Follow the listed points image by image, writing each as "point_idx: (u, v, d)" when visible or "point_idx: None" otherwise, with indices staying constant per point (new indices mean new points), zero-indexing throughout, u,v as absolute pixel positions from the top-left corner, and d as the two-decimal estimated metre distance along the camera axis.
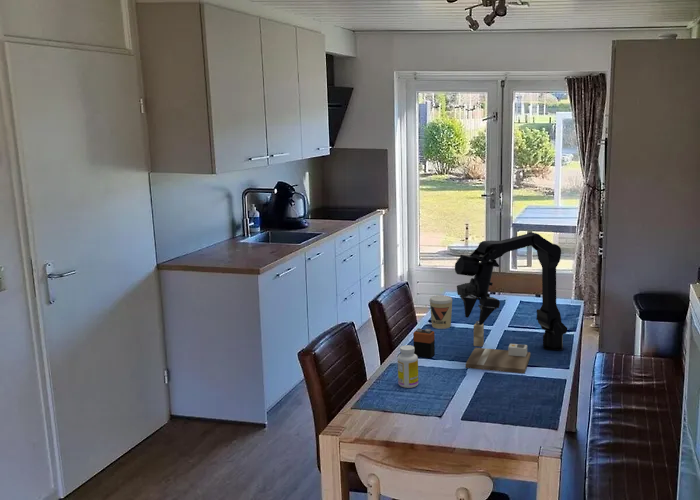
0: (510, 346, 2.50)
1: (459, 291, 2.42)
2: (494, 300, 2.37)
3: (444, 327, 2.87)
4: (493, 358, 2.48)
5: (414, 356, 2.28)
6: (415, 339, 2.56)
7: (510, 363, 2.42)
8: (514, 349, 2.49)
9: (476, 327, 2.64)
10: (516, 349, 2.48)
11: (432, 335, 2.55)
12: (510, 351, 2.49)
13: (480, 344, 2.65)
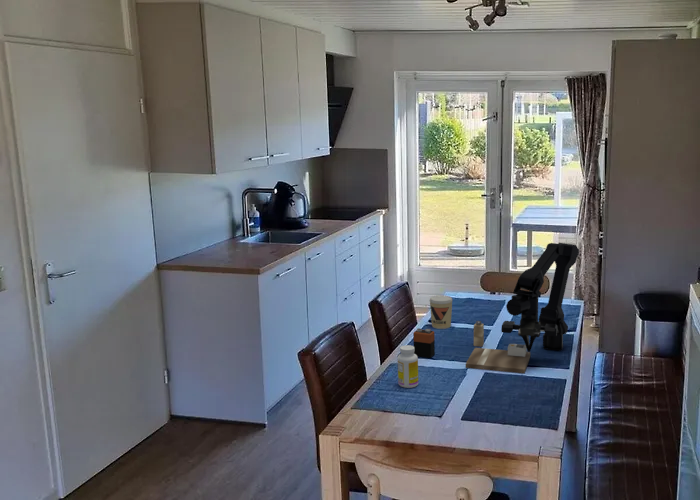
0: (509, 346, 2.50)
1: (526, 332, 2.40)
2: (556, 326, 2.44)
3: (444, 327, 2.87)
4: (493, 358, 2.48)
5: (414, 356, 2.28)
6: (415, 339, 2.56)
7: (510, 363, 2.42)
8: (513, 349, 2.49)
9: (476, 327, 2.64)
10: (515, 349, 2.48)
11: (432, 335, 2.55)
12: (509, 351, 2.49)
13: (480, 344, 2.65)
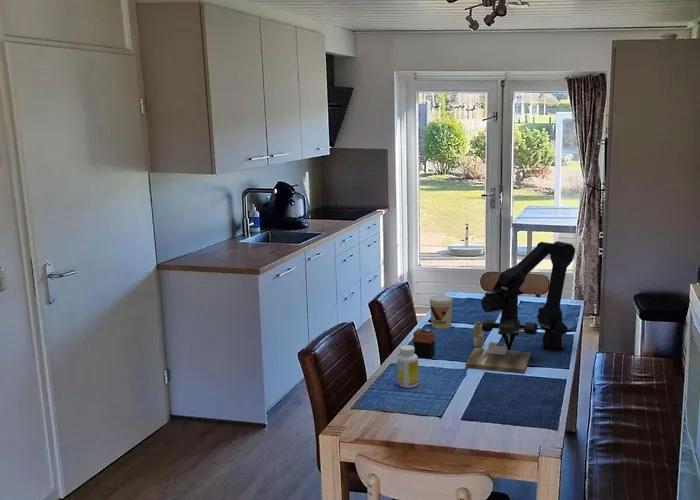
0: (490, 344, 2.52)
1: (506, 330, 2.42)
2: (535, 325, 2.47)
3: (444, 327, 2.87)
4: (493, 358, 2.48)
5: (414, 356, 2.28)
6: (415, 339, 2.56)
7: (510, 363, 2.42)
8: (494, 347, 2.51)
9: (476, 327, 2.64)
10: (496, 347, 2.51)
11: (432, 335, 2.55)
12: (490, 349, 2.52)
13: (480, 344, 2.65)
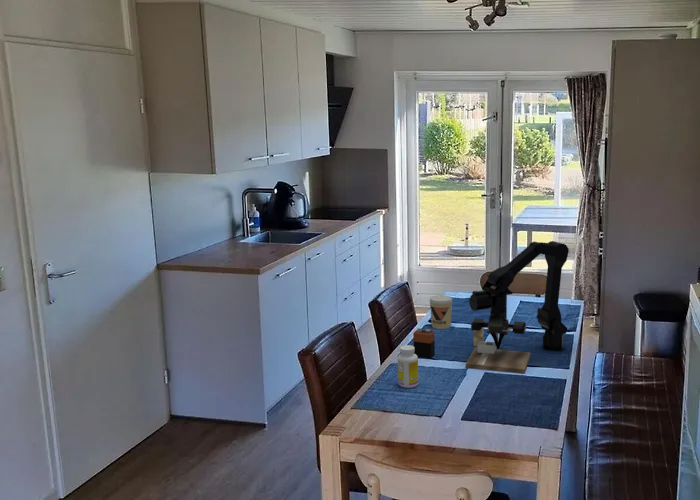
0: (479, 343, 2.54)
1: (494, 329, 2.43)
2: (524, 324, 2.48)
3: (444, 327, 2.87)
4: (493, 358, 2.48)
5: (414, 356, 2.28)
6: (415, 339, 2.56)
7: (510, 363, 2.42)
8: (483, 346, 2.52)
9: None
10: (485, 346, 2.52)
11: (432, 335, 2.55)
12: (479, 348, 2.53)
13: None
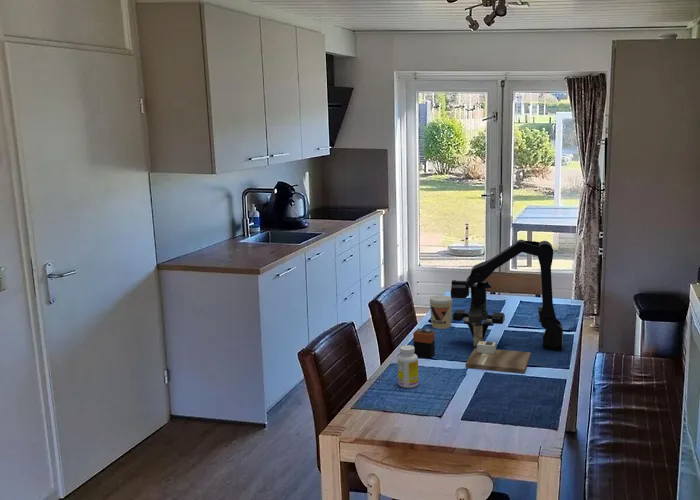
0: (479, 343, 2.54)
1: (474, 319, 2.57)
2: (503, 315, 2.61)
3: (444, 327, 2.87)
4: (493, 358, 2.48)
5: (414, 356, 2.28)
6: (415, 339, 2.56)
7: (510, 363, 2.42)
8: (482, 346, 2.53)
9: (476, 327, 2.64)
10: (484, 346, 2.52)
11: (432, 335, 2.55)
12: (479, 348, 2.53)
13: None
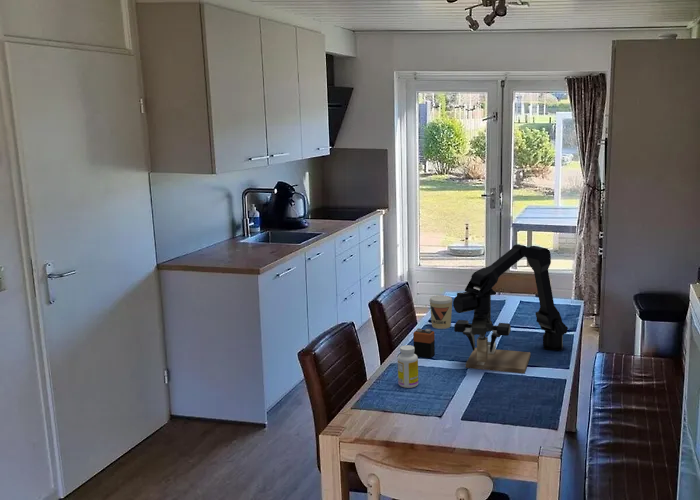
0: None
1: (478, 331, 2.36)
2: (509, 326, 2.41)
3: (444, 327, 2.87)
4: (493, 358, 2.48)
5: (414, 356, 2.28)
6: (415, 339, 2.56)
7: (510, 363, 2.42)
8: None
9: (479, 341, 2.44)
10: None
11: (432, 335, 2.55)
12: None
13: (484, 359, 2.44)
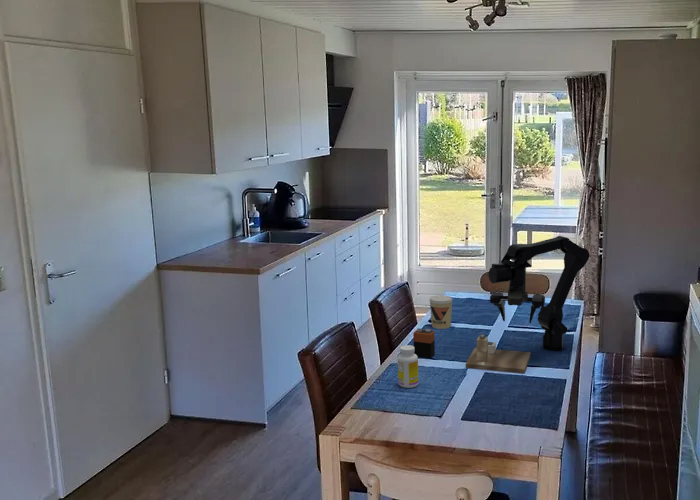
0: None
1: (514, 301, 2.44)
2: (543, 297, 2.49)
3: (444, 327, 2.87)
4: (493, 358, 2.48)
5: (414, 356, 2.28)
6: (415, 339, 2.56)
7: (510, 363, 2.42)
8: None
9: (479, 341, 2.44)
10: None
11: (432, 335, 2.55)
12: None
13: (484, 359, 2.44)
